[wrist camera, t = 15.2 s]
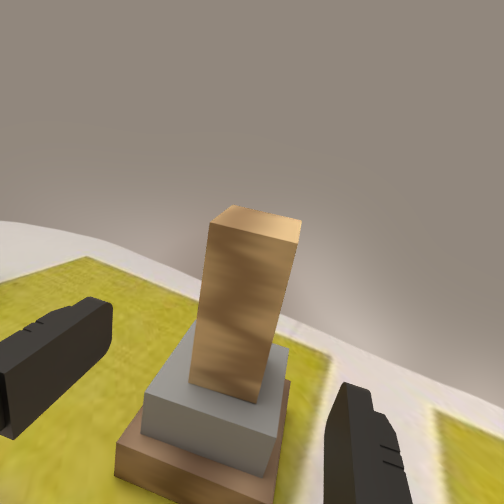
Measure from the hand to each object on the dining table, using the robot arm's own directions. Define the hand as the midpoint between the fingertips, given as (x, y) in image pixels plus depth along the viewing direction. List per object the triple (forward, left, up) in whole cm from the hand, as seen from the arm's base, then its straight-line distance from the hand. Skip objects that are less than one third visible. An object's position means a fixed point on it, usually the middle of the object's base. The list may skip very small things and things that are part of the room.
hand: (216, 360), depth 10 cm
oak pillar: (+1, -10, -10) cm, 14 cm away
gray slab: (+1, -11, -14) cm, 18 cm away
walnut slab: (+1, -10, -18) cm, 21 cm away
